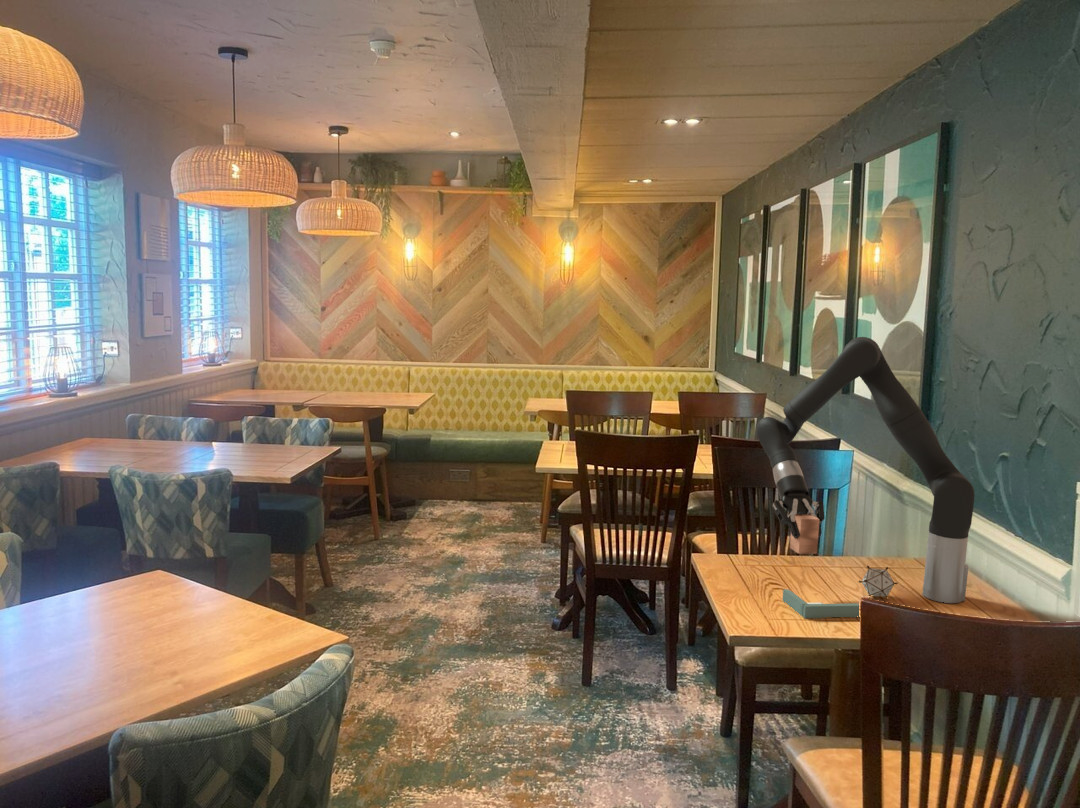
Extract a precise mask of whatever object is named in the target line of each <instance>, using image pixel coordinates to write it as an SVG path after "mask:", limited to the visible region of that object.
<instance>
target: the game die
mask: <svg viewBox="0 0 1080 808" xmlns="http://www.w3.org/2000/svg"><path fill="white" fill-rule="evenodd" d="M866 568H867V571H866V572H865V575H863V577H862V580H858V581H857V582H858V583H860V584H862V585H863V587H864V589H865V591H866V593H867V594H868V596H870V597H880V596H882V597H881V598H886V597H888V596H889V595H890V592H891V591H892V589H893V587H894V585H898V584H899V583H898V582H896V581H895V580H893V577H891V575H890V573H889V571H888V569H889V566H886V567H885V569H884V568H874V567H873V568H872V567H870V566H869V565H866ZM871 595H873V596H871Z"/></svg>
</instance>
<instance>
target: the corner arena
mask: <svg viewBox="0 0 1080 808" xmlns="http://www.w3.org/2000/svg"><path fill="white" fill-rule="evenodd" d="M782 600H783V601H784V602H783V601H782V602H783V603H785V602H786V603H787V604H788V605H789V606H790V607H789V606H788V605H787V604H786V603H785V604H786V605H787V606H788V607H789V608H791V607H792V608H793V609H794V610H795V611H794V610H793V609H792V608H791V609H792V610H793V611H794V612H796V611H797V612H798V613H799V614H800V616H801V615H802V616H803V617H804V618H803V617H802V616H801V617H802V618H803V619H826V618H825V617H851V619H854V618H855V619H856V617H857V616H858V618H859V603H858V602H856V603H854V602H853V603H850V602H849V603H848V602H847V603H823V604H808V603H809V602H806V601H805V600H804V599H802V598H801V597H800V596H798V595H797V594H795V592H793V591H792V590H790V589H787V588H786V589H782ZM797 612H796V613H797ZM798 613H797V614H798ZM799 614H798V615H799ZM822 617H824V618H822ZM852 617H854V618H852ZM859 619H860V618H859Z"/></svg>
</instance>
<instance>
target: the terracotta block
mask: <svg viewBox="0 0 1080 808" xmlns="http://www.w3.org/2000/svg"><path fill="white" fill-rule="evenodd" d="M795 519H796V520H795V522H796V523H797V526H798V529H799V532H800V536H799V537H798V539H795V538H794V536H792V534H791V533H790V539H789V541H790V542H789V549H791V550H792V551H794V552H795V553H797V554H800V555H801V554H817V553H818V544H819V543H818V542H819V538H818V533H819V526H820V524H819V521H820V519H818V518H816V517H814V516H811V515H808V513H807V514H796V516H795Z"/></svg>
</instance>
